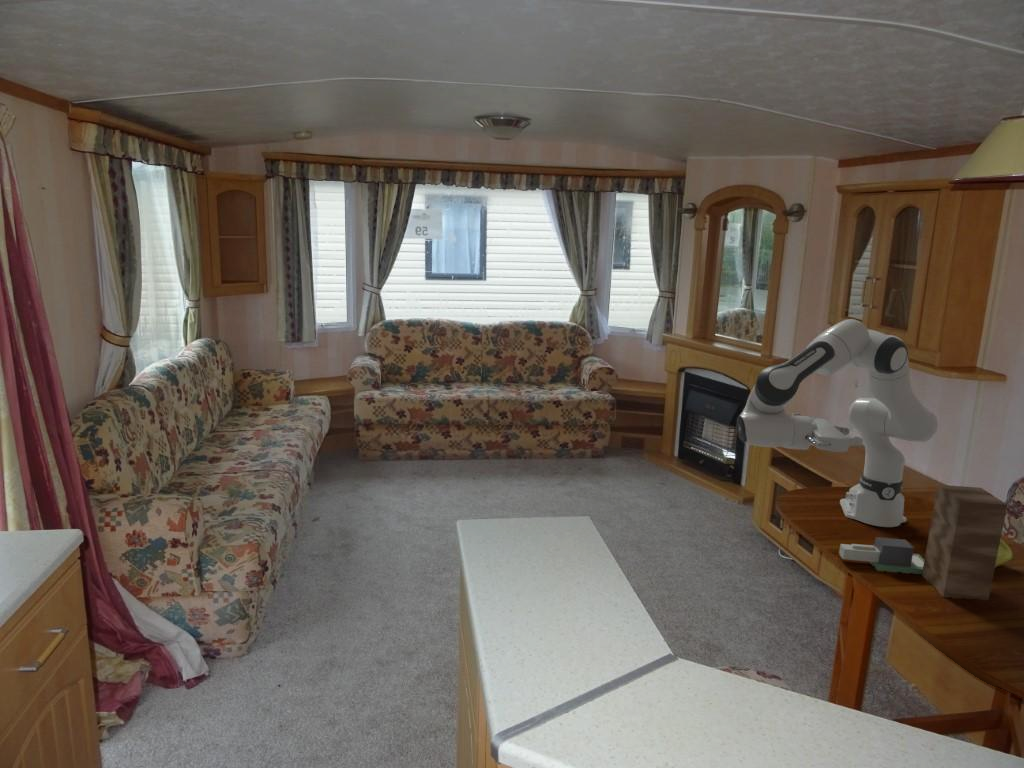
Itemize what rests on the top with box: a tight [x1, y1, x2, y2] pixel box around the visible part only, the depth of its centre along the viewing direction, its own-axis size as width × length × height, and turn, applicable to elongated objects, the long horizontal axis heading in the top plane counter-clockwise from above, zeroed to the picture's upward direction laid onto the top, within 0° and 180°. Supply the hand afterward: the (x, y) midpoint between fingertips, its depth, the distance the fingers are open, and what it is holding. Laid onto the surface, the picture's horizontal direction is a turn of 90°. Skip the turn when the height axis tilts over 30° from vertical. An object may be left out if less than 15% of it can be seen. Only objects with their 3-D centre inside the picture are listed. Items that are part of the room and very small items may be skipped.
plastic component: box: [995, 538, 1013, 568], centre depth 206 cm, size 20×7×10 cm
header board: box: [869, 553, 925, 575], centre depth 204 cm, size 10×15×2 cm, turn 85°
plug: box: [838, 536, 915, 567], centre depth 203 cm, size 6×18×6 cm, turn 83°
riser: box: [921, 484, 1008, 601], centre depth 190 cm, size 12×11×26 cm
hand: (854, 436), depth 192 cm, fingers open, 8 cm apart
